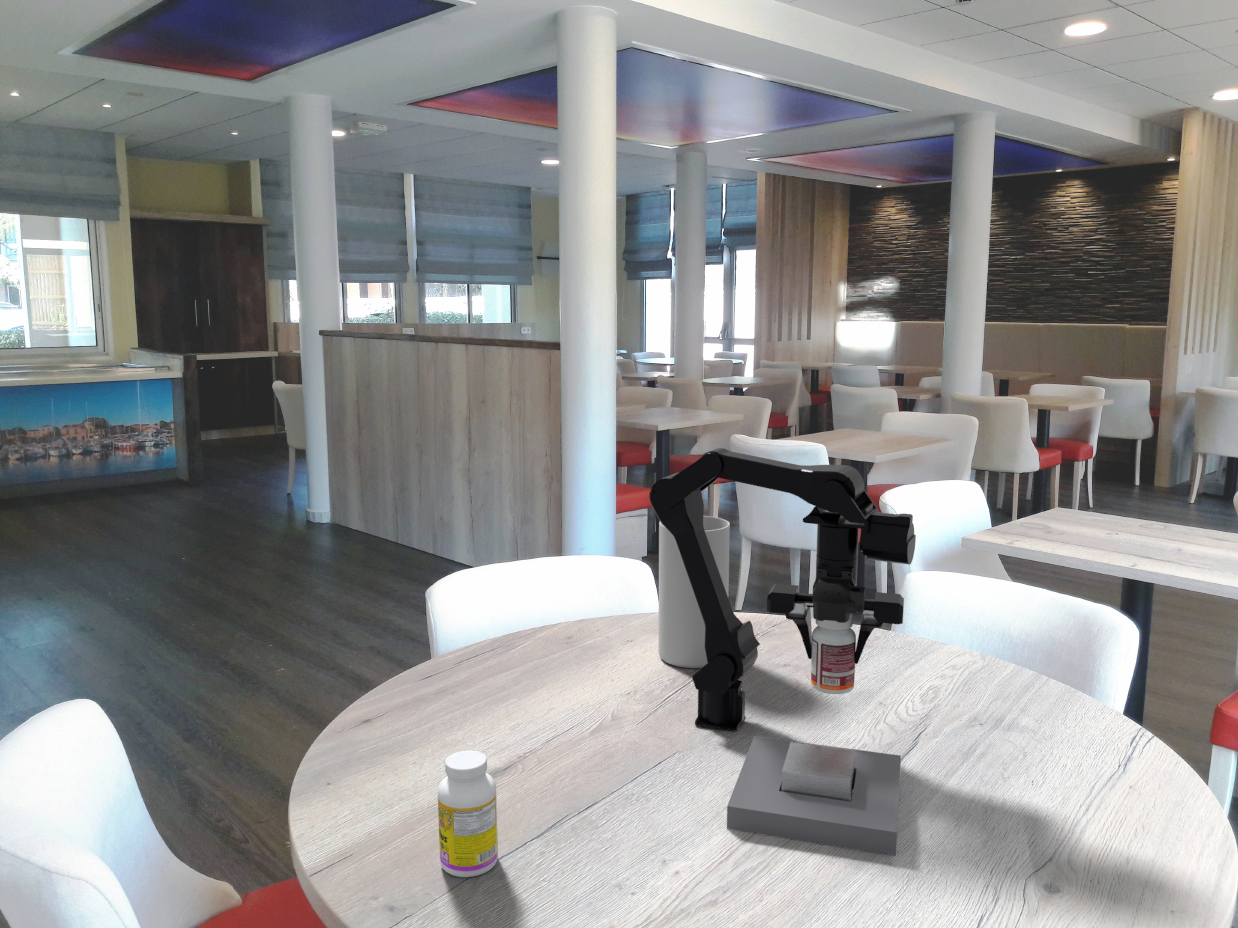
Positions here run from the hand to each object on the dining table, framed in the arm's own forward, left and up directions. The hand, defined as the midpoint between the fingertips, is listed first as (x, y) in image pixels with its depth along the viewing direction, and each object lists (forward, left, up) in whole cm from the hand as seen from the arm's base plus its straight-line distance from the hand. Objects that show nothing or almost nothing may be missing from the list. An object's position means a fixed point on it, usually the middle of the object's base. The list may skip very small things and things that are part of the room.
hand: (833, 660), depth 138 cm
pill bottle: (0, 0, -4) cm, 4 cm away
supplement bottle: (-37, -43, -13) cm, 58 cm away
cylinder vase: (-27, +28, -13) cm, 41 cm away
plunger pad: (0, -17, -10) cm, 20 cm away
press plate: (0, -17, -13) cm, 21 cm away
